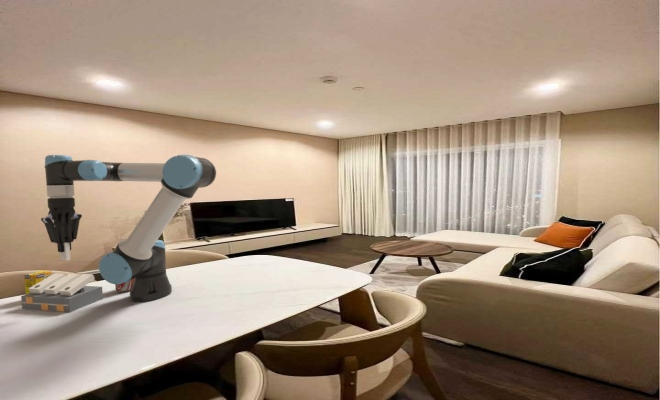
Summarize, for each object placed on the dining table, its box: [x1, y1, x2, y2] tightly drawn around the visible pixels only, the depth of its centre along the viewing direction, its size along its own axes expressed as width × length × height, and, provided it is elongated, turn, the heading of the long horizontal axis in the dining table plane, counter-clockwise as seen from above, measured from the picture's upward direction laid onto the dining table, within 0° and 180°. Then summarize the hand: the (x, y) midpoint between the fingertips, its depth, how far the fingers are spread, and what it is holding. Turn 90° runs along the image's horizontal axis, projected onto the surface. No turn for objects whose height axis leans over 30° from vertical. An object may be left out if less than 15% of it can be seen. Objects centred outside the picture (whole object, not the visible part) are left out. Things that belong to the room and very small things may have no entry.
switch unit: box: [20, 285, 104, 313], centre depth 118 cm, size 22×13×6 cm, turn 80°
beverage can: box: [114, 279, 134, 294], centre depth 132 cm, size 8×8×12 cm
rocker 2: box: [43, 273, 80, 294], centre depth 117 cm, size 5×10×2 cm, turn 170°
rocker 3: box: [59, 273, 96, 296], centre depth 116 cm, size 5×10×2 cm, turn 170°
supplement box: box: [23, 270, 52, 295], centre depth 123 cm, size 6×6×11 cm
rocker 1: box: [29, 272, 66, 294], centre depth 119 cm, size 5×10×2 cm, turn 170°
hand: (65, 259), depth 112 cm, fingers closed
